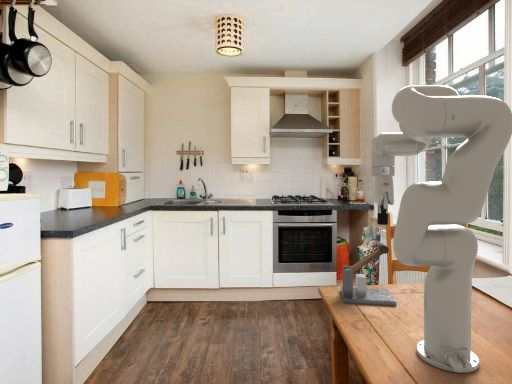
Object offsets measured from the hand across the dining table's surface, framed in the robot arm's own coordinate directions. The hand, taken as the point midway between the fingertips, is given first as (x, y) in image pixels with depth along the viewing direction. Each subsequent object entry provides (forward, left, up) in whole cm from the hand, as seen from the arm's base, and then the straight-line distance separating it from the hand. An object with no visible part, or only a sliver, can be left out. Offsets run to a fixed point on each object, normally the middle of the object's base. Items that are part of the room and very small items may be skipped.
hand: (382, 224), depth 110 cm
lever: (0, +5, -14) cm, 15 cm away
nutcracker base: (0, +5, -26) cm, 27 cm away
